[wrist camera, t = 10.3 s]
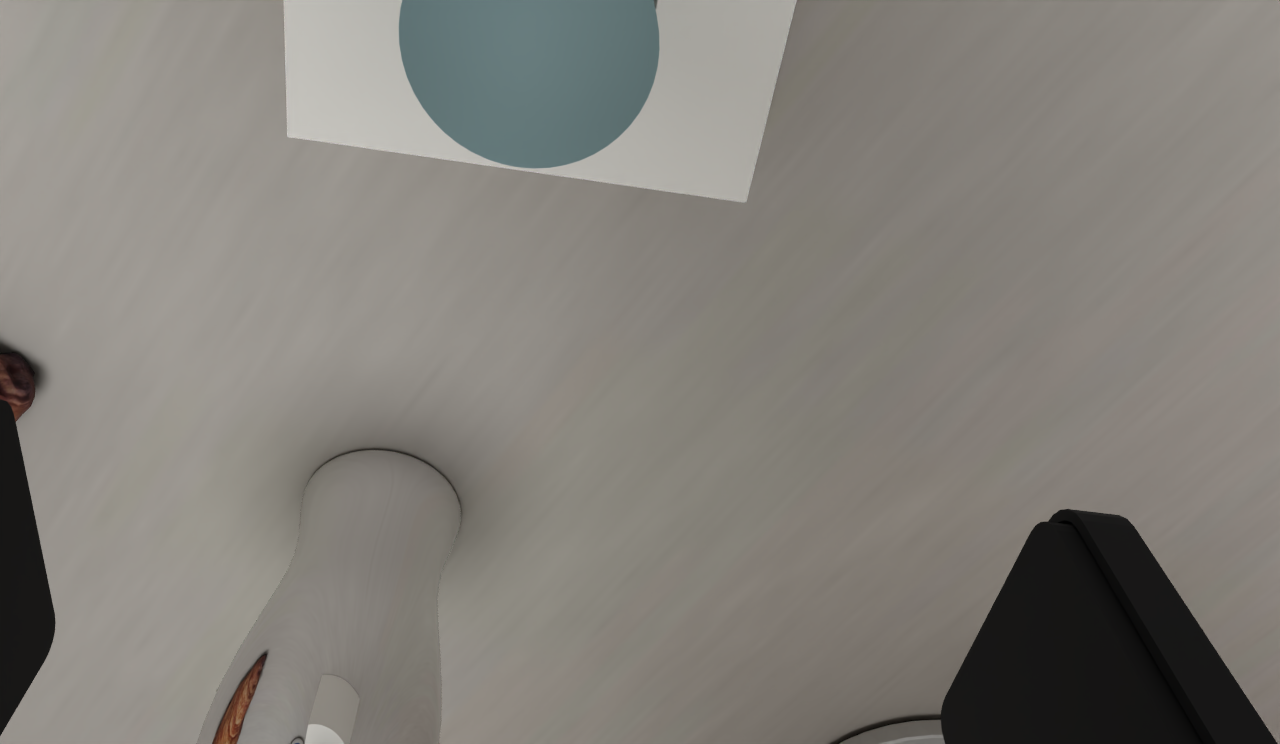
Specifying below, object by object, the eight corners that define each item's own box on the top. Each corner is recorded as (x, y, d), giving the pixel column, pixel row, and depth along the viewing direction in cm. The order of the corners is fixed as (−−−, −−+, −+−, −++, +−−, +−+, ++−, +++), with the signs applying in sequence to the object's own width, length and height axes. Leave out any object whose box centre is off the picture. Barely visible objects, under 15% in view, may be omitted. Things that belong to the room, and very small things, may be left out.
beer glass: (335, 410, 36) (201, 781, 24) (504, 484, 39) (462, 859, 26) (265, 531, 39) (114, 914, 27) (425, 593, 42) (354, 972, 29)
